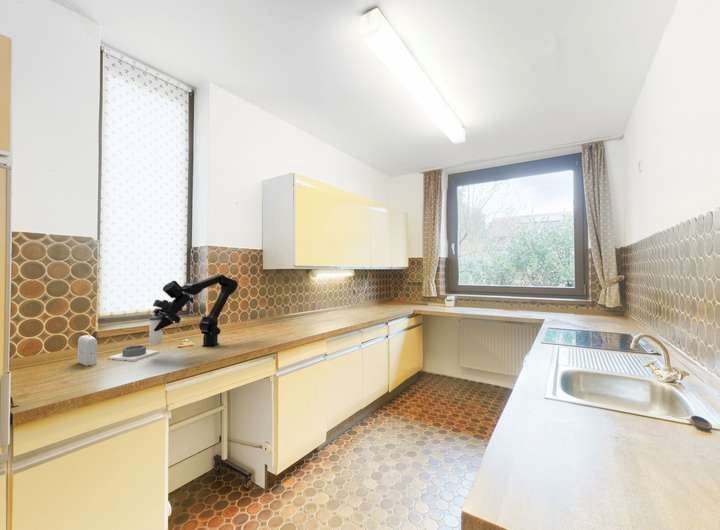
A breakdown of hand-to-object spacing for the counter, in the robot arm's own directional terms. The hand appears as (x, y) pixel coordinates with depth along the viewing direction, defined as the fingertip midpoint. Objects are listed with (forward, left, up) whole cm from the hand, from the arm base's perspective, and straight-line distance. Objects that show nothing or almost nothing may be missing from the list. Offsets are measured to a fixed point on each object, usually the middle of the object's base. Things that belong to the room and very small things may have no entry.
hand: (152, 330), depth 148 cm
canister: (-1, -1, -7) cm, 7 cm away
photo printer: (+22, +12, -14) cm, 28 cm away
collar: (+12, -2, -13) cm, 18 cm away
